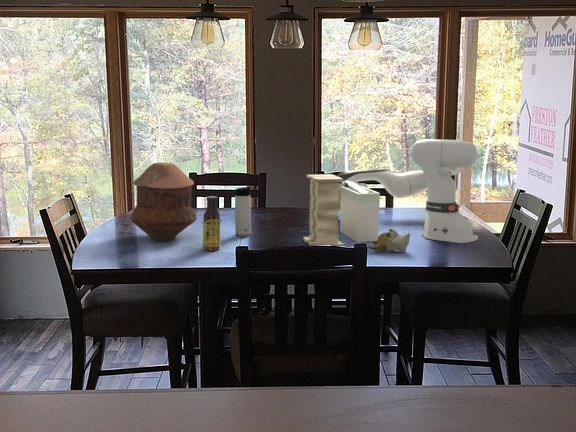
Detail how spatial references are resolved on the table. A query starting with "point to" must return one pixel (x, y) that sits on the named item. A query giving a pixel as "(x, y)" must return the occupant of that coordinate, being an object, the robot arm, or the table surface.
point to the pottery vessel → (163, 202)
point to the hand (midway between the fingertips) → (349, 183)
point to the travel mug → (243, 212)
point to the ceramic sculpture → (391, 242)
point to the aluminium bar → (354, 187)
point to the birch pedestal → (324, 210)
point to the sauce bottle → (211, 225)
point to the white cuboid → (360, 214)
